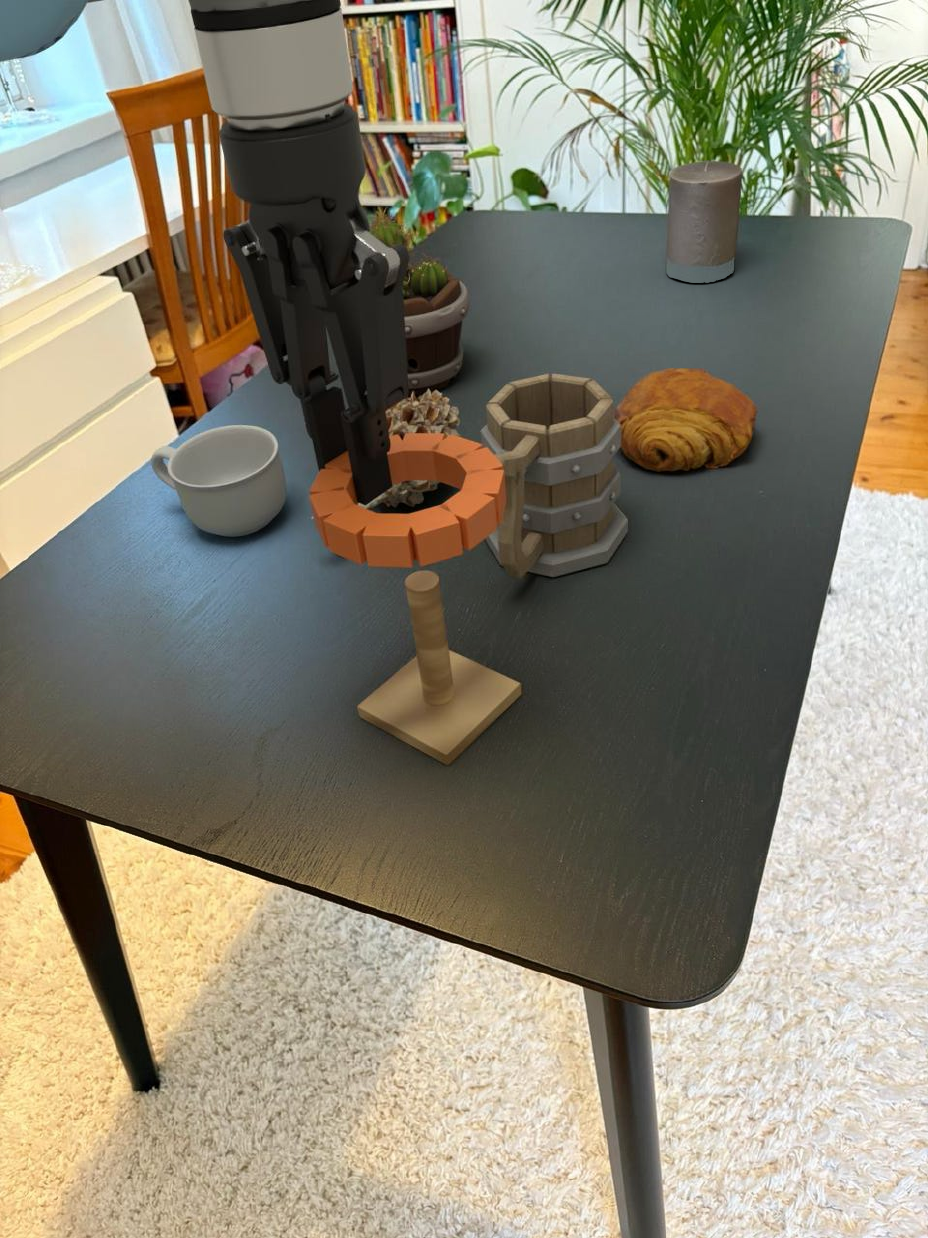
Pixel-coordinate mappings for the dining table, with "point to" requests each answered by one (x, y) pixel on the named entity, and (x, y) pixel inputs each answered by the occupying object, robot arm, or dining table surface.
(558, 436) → the tankard
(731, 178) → the pillar candle
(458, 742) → the rack
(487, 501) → the ring
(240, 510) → the teacup
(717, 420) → the croissant
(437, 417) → the pine cone
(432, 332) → the flowerpot
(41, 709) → the dining table surface
